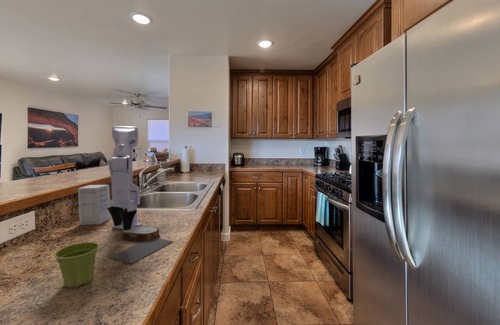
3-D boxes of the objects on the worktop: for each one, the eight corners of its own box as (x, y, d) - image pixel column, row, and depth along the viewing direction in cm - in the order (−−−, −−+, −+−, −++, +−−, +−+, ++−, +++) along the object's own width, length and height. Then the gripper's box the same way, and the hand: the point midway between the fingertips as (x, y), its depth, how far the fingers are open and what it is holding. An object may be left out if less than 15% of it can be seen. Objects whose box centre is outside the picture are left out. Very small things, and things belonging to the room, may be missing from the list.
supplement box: (111, 218, 117) (110, 184, 116) (100, 224, 108) (98, 187, 107) (91, 218, 117) (90, 184, 116) (78, 224, 108) (77, 187, 107)
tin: (150, 241, 88) (163, 235, 96) (150, 232, 88) (163, 227, 96) (115, 238, 91) (131, 232, 100) (115, 230, 91) (131, 225, 100)
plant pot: (87, 291, 58) (85, 256, 58) (46, 293, 58) (44, 258, 57) (107, 271, 68) (105, 241, 67) (72, 272, 67) (70, 242, 66)
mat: (108, 258, 76) (108, 257, 76) (152, 238, 92) (152, 237, 92) (131, 264, 72) (131, 263, 72) (173, 242, 88) (173, 241, 88)
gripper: (142, 191, 85) (143, 228, 85) (123, 186, 94) (124, 220, 94) (121, 194, 79) (123, 234, 80) (103, 189, 88) (105, 225, 89)
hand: (122, 227), depth 87 cm, fingers open, 7 cm apart
